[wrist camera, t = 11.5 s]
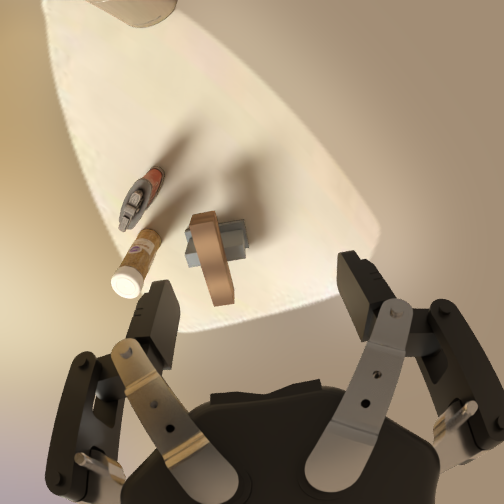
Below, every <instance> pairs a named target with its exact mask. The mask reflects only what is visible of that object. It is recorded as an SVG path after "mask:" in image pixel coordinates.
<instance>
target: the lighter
mask: <svg viewBox="0 0 504 504" xmlns="http://www.w3.org/2000/svg"><path fill="white" fill-rule="evenodd" d="M164 175H165V174H164V171H163V169H161V168H160V167H157V166H155V167H152V168H151V169H150V170H149V171H148V172H147V173H146V175H145V176H144V177H142V178H140V179H138V180H137V181H136V182H135V183H134V184H133V186H132V187H131V189H130V190H129V192H128V194H127V196H126V197H125V199H124V202H123V205H122V208H121V212H120V217H119V222H120V224H119V227H118V228H119V230H120V231H122V232H125V231H126V230H127V229H133V228H134V227H135V225H136V224H137V223H138V221H139V220H140V219H141V217H142V215H143V214H144V212H145V211H146V210H147V209H148V207H149V206H150V205H151V204H152V202H153V201H154V199H155V198H156V196H157V194H158V192H159V190H160V188H161V185H162V182H163V179H164Z"/></svg>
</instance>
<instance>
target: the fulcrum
mask: <svg viewBox="0 0 504 504" xmlns="http://www.w3.org/2000/svg"><path fill="white" fill-rule="evenodd" d="M218 226H219V230H220V234H221V238H222V242H223V246H224V250H225V254H226V258H227V261H232V260H238V259H244V258H246V254H245V248H249V245H248V239H247V234H246V229H245V224H244V219H243V220H238V221H232V222H226V223H221V224H218ZM185 235H186V238H187V242H188V245H187V248H186V252H185V257H186V260H187V263H188V266H189V268H190V267H196V266H201V264H200V261H199V258H198V255H197V251H196V248H195V245H194V242H193V238H192V235H191V231H190V229H189V230H185Z"/></svg>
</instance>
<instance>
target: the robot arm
mask: <svg viewBox="0 0 504 504" xmlns="http://www.w3.org/2000/svg"><path fill="white" fill-rule="evenodd" d="M85 1H87V2H89V3H91V4H93V5H95V6H97V7H98V8H100V9H102V10H104V11H106V12H107V13H109V14H111V15H113V16H114V17H116V18H118V19H119V20H121V21H123V22H124V23H126V24H128V25H129V26H132V27H137V28H143V27H149V26H152V25H155V24H157V23H159V22H161V21H162V20H164V19H165V18H166V17H167V16H169V15H170V13H171V12H172V11H173V10H174V8H175V6H176V4H177V0H85ZM337 286H338V290H339V293H340V295H341V297H342V299H343V301H344V303H345V305H346V308H347V310H348V312H349V315H350V317H351V319H352V321H353V323H354V326H355V328H356V331H357V333H358V335H359V337H360V340H361V342H364V341H368V340H369V341H368V342H367V344H366V346H365V349H364V351H363V353H362V356H361V358H360V361H359V363H358V365H357V368H356V370H355V372H354V375H353V377H352V379H351V381H350V384H349V386H348V388H347V390H346V391H345V390H342V389H339V388H335V387H329V386H321V382H320V379H317V380H312V381H307V382H301V383H296V384H292V385H289V386H287V387H284V388H282V389H279V390H276V391H274V392H271V393H269V394H253V393H244V392H227V393H214V394H211V395H210V401H209V402H206V403H204V404H201V405H200V406H198V407H196V408H195V409H193V410H192V411H190V412H188V411H187V410H186V409H185V407H184V406H183V404H182V403H181V402H180V401H179V399H178V398H177V397H176V395H175V394H174V393H173V391H172V390H171V388H170V387H169V386H168V384H167V383H166V381H165V380H164V379H163V377H162V371H163V370H171V368H172V361H173V355H174V348H175V342H176V336H177V331H178V325H179V319H180V306H179V303H178V300H177V298H176V296H175V293H174V291H173V288H172V286H171V283H170V281H169V280H161V281H154V282H152V284H151V287H150V290H149V293H144V295H143V296H142V297H141V298H140V299H139V301H138V303H137V306H136V310H135V312H134V317H132V320H131V323H130V326H129V329H128V332H127V335H126V338H125V339H123V340H121V341H119V342H118V343H117V344H116V345H115V346H114V347H113V349H112V352H111V354H108V355H105V356H102V357H98V358H96V357H95V355H94V354H93V353H92V352H88V351H86V352H82V353H80V354H79V355H77V356H76V357H75V359H74V360H73V362H72V364H71V367H70V370H69V374H68V377H67V379H66V383H65V386H64V389H63V393H62V396H61V400H60V403H59V407H58V411H57V415H56V419H55V423H54V428H53V432H52V437H51V442H50V447H49V452H48V458H47V465H46V472H45V481H46V485H47V487H48V488H49V490H50V491H51V492H52V493H54V494H55V495H58V496H60V497H63V498H66V499H68V500H70V501H73V502H75V503H78V504H435V493H436V487H437V482H438V479H439V474H440V473H443V472H445V471H447V470H449V469H451V468H453V467H455V466H457V465H465V464H467V463H469V462H471V461H472V460H474V459H476V458H478V457H479V456H481V455H483V454H484V453H486V452H488V451H489V450H491V449H493V448H494V447H496V446H497V445H498V444H500V443H502V442H503V441H504V390H503V388H502V385H501V383H500V381H499V379H498V377H497V375H496V373H495V371H494V369H493V367H492V365H491V363H490V361H489V360H488V358H487V356H486V354H485V352H484V350H483V349H482V347H481V345H480V343H479V342H478V340H477V338H476V337H475V335H474V333H473V332H472V330H471V328H470V327H469V325H468V323H467V322H466V320H465V319H464V317H463V316H462V314H461V313H460V311H459V310H458V308H457V307H456V305H455V304H454V303H452V302H451V301H449V300H446V299H437V300H435V301H433V302H432V304H431V306H430V309H414V308H412V307H411V306H410V304H409V303H407V302H406V301H404V300H402V299H397V298H396V297H395V295H394V293H393V292H392V290H391V289H390V287H389V286H388V284H387V283H386V282H385V280H384V279H383V277H382V275H381V274H380V273H379V271H378V270H377V268H376V267H375V265H374V264H373V263H371V262H370V261H368V260H367V259H362V260H361V259H360V258H359V256H358V255H357V253H356V252H355V251H354V250H352V251H346V252H341V253H338V260H337ZM404 357H415V358H416V360H417V363H418V365H419V368H420V370H421V372H422V375H423V377H424V380H425V382H426V385H427V387H428V390H429V392H430V395H431V397H432V400H433V403H434V406H435V409H436V411H437V414H438V417H439V418H438V419H437V420H436V422H435V424H434V428H433V434H434V441H433V445H431V444H430V443H429V442H427V441H426V440H424V439H422V438H421V437H419V436H417V435H416V434H414V433H412V432H410V431H409V430H407V429H405V428H404V427H402V426H400V425H399V424H397V423H396V422H394V421H392V420H391V419H389V418H388V417H386V413H387V411H388V408H389V405H390V403H391V400H392V397H393V394H394V391H395V388H396V385H397V382H398V379H399V375H400V372H401V368H402V365H403V361H404ZM95 395H96V399H95V404H94V409H92V407H93V402H94V398H95ZM126 397H127V398H128V400H129V402H130V404H131V406H132V408H133V409H134V411H135V413H136V415H137V416H138V418H139V420H140V421H141V423H142V425H143V427H144V428H145V430H146V432H147V433H148V435H149V436H150V438H151V440H152V441H153V443H154V444H155V446H156V447H157V448H156V449H155V450H154V452H153V453H152V454H151V455H150V456H149V457H148V458H147V459H146V460H145V461H144V462H143V463H142V464H141V465H140V466H139V467H138V468H137V469H136V470H135V471H134V472H133V473H132V474H131V475H130V476H129V477H128V479H127V480H126V476H125V474H124V471H123V468H122V466H121V465H120V464H119V463H118V462H117V459H118V448H119V439H120V430H121V422H122V415H123V408H124V401H125V398H126ZM125 480H126V481H125Z"/></svg>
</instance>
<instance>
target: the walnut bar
mask: <svg viewBox="0 0 504 504" xmlns="http://www.w3.org/2000/svg"><path fill="white" fill-rule="evenodd" d="M189 228H190V231H191V235H192V238H193V242H194V245H195V248H196V251H197V255H198V258H199V261H200V264H201V268H202V271H203V274H204V277H205V280H206V283H207V286H208V290H209V293H210V296H211V299H212V302H213V305H214V307H215V306H222V305H229V304H234V286H233V282H232V278H231V274H230V270H229V266H228V262H227V258H226V254H225V250H224V246H223V242H222V238H221V234H220V230H219V226H218V222H217V217H216V213H215V211H209V212H204V213H199V214H194V215H192V218H191V221H190V224H189Z"/></svg>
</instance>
